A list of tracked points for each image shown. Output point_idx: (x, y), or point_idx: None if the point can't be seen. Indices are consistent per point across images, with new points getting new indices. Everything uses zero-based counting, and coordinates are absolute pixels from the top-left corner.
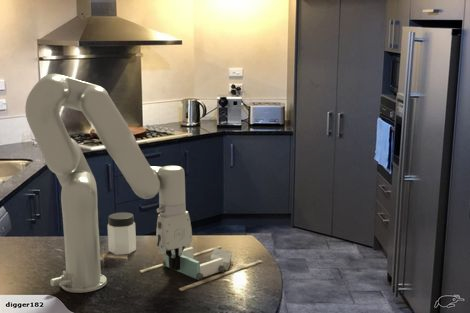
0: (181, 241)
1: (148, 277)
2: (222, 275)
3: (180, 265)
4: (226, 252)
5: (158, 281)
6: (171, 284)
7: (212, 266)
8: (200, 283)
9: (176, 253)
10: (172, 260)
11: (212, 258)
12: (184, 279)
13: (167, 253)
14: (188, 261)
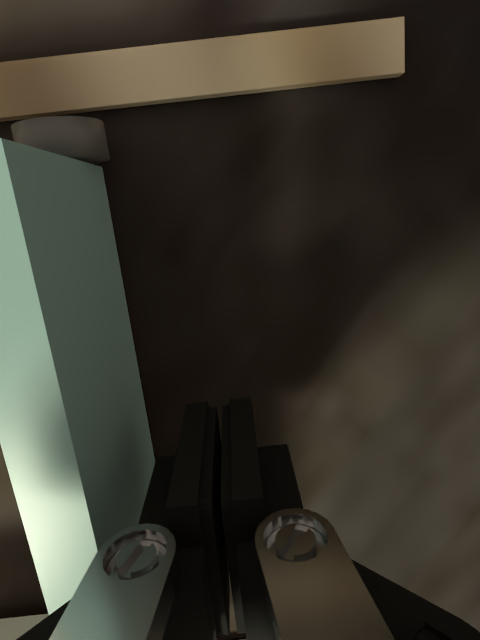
0: None
1: (422, 520)
2: None
3: (134, 479)
4: None
5: (414, 398)
6: (368, 260)
7: None
8: (122, 48)
9: (187, 610)
10: (292, 504)
11: None
12: (194, 291)
13: (463, 626)
14: (70, 369)
